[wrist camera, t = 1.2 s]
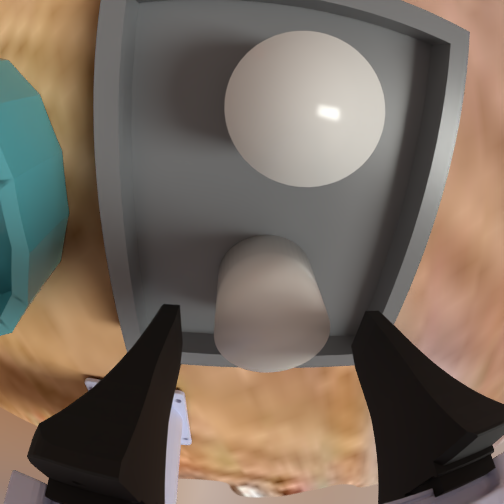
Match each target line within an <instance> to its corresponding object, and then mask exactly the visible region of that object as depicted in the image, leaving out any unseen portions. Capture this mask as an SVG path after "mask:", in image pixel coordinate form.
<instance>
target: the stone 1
mask: <svg viewBox="0 0 504 504" xmlns="http://www.w3.org/2000/svg"><path fill="white" fill-rule="evenodd" d="M224 112H225V120H226V125H227V128H228V132H229V135H230V137H231V139H232V142H233V144H234V145H235V147H236V149H237V150H238V152H239V153H240V154H241V156H242V157H243V158H244V159H245V161H247V162H248V163H249V164H250V165H251V166H252V167H253V168H254V169H255V170H257V171H258V172H259V173H261V174H262V175H264V176H266V177H268V178H269V179H272V180H274V181H276V182H279V183H282V184H286V185H290V186H296V187H317V186H323V185H328V184H331V183H334V182H337V181H339V180H341V179H343V178H345V177H347V176H349V175H350V174H352V173H353V172H355V171H356V170H357V169H358V168H359V167H361V166H362V165H363V164H364V163H365V161H366V160H367V159H368V158H369V157H370V155H371V154H372V153H373V151H374V150H375V148H376V146H377V144H378V142H379V140H380V137H381V134H382V131H383V127H384V121H385V100H384V94H383V91H382V87H381V84H380V82H379V79H378V77H377V75H376V73H375V72H374V70H373V68H372V67H371V65H370V64H369V63H368V61H367V60H366V59H365V58H364V57H363V56H362V55H361V54H360V53H359V52H358V51H357V50H356V49H354V48H353V47H352V46H350V45H349V44H347V43H346V42H344V41H342V40H340V39H338V38H336V37H333V36H331V35H328V34H324V33H320V32H314V31H292V32H286V33H282V34H279V35H275V36H273V37H271V38H268V39H266V40H264V41H263V42H261V43H259V44H258V45H256V46H255V47H254V48H252V49H251V50H250V51H249V52H248V53H247V54H246V55H245V56H244V57H243V58H242V59H241V60H240V62H239V63H238V65H237V66H236V68H235V69H234V71H233V73H232V75H231V77H230V80H229V83H228V86H227V89H226V95H225V105H224Z"/></svg>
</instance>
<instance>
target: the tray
mask: <svg viewBox="0 0 504 504" xmlns="http://www.w3.org/2000/svg"><path fill="white" fill-rule="evenodd" d="M292 31H314V32H320V33H324V34H328V35H331V36H333V37H336V38H338V39H340V40H342V41H344V42H346V43H347V44H349V45H350V46H352V47H353V48H354V49H356V50H357V51H358V52H359V53H360V54H361V55H362V56H363V57H364V58H365V59H366V60H367V61H368V63H369V64H370V65H371V67H372V68H373V70H374V72H375V73H376V75H377V77H378V79H379V82H380V84H381V87H382V91H383V94H384V100H385V121H384V127H383V131H382V134H381V137H380V140H379V142H378V144H377V146H376V148H375V150H374V151H373V153H372V154H371V155H370V157H369V158H368V159H367V160H366V161H365V163H364V164H363V165H362V166H361V167H359V168H358V169H357V170H356V171H355V172H353V173H352V174H350V175H349V176H347V177H345V178H343V179H341V180H339V181H337V182H334V183H331V184H328V185H323V186H317V187H296V186H290V185H286V184H282V183H279V182H276V181H274V180H272V179H269V178H268V177H266V176H264V175H262V174H261V173H259V172H258V171H257V170H255V169H254V168H253V167H252V166H251V165H250V164H249V163H248V162H247V161H245V159H244V158H243V157H242V156H241V154H240V153H239V152H238V150H237V149H236V147H235V145H234V144H233V142H232V139H231V137H230V135H229V132H228V128H227V125H226V120H225V112H224V105H225V95H226V89H227V86H228V83H229V80H230V77H231V75H232V73H233V71H234V69H235V68H236V66H237V65H238V63H239V62H240V60H241V59H242V58H243V57H244V56H245V55H246V54H247V53H248V52H249V51H250V50H251V49H252V48H254V47H255V46H256V45H258V44H259V43H261V42H263V41H264V40H266V39H268V38H271V37H273V36H275V35H279V34H282V33H286V32H292ZM469 35H470V32H469V31H467V30H465V29H463V28H461V27H459V26H457V25H455V24H453V23H451V22H449V21H447V20H445V19H443V18H441V17H439V16H437V15H435V14H433V13H430V12H428V11H426V10H424V9H421V8H419V7H416V6H414V5H412V4H409V3H406V2H404V1H401V0H101V3H100V10H99V18H98V27H97V38H96V50H95V66H94V104H93V109H94V148H95V165H96V179H97V190H98V200H99V209H100V217H101V225H102V232H103V239H104V246H105V252H106V258H107V264H108V270H109V275H110V280H111V285H112V290H113V295H114V300H115V305H116V309H117V314H118V318H119V322H120V326H121V330H122V334H123V338H124V342H125V346H126V349H127V352H128V351H129V350H130V349H131V348H132V346H133V345H134V344H135V343H136V342H137V340H138V339H139V338H140V336H141V335H142V334H143V332H144V331H145V330H146V328H147V327H148V325H149V324H150V323H151V321H152V320H153V318H154V317H155V315H156V314H157V312H158V310H159V309H160V307H161V306H162V305H163V304H173V305H180V313H181V326H182V338H183V346H182V356H181V364H188V365H202V366H220V367H238V366H236V365H234V364H232V363H230V362H229V361H228V360H226V359H225V358H224V357H223V356H222V355H221V354H220V352H219V351H218V349H217V347H216V344H215V341H214V326H215V311H216V298H217V284H218V272H219V267H220V264H221V261H222V259H223V258H224V256H225V254H226V253H227V252H228V251H229V250H230V249H231V248H232V247H233V246H235V245H236V244H238V243H239V242H241V241H243V240H245V239H248V238H250V237H254V236H260V235H274V236H280V237H283V238H286V239H289V240H290V241H292V242H294V243H295V244H297V245H298V246H299V247H300V248H301V249H302V250H303V251H304V252H305V254H306V256H307V257H308V260H309V262H310V265H311V268H312V271H313V274H314V276H315V279H316V282H317V285H318V288H319V291H320V293H321V296H322V299H323V302H324V305H325V308H326V311H327V314H328V317H329V320H330V334H329V337H328V340H327V342H326V344H325V345H324V347H323V348H322V349H321V350H320V352H319V353H318V354H316V355H315V356H314V357H313V358H312V359H310V360H309V361H307V362H305V363H303V364H301V365H299V366H297V367H294V368H304V367H332V366H350V365H355V364H354V359H353V354H352V348H351V345H352V343H353V340H354V338H355V335H356V333H357V331H358V328H359V326H360V323H361V321H362V318H363V316H364V313H365V311H379V312H381V313H382V314H383V315H384V316H385V317H386V318H387V319H388V320H389V321H390V322H391V323H392V324H393V325H394V323H395V321H396V318H397V316H398V314H399V312H400V310H401V307H402V305H403V303H404V300H405V298H406V296H407V293H408V291H409V289H410V286H411V284H412V281H413V279H414V276H415V274H416V271H417V269H418V266H419V264H420V261H421V258H422V256H423V253H424V250H425V247H426V245H427V242H428V239H429V236H430V233H431V230H432V227H433V224H434V221H435V218H436V214H437V211H438V208H439V205H440V201H441V198H442V194H443V191H444V187H445V183H446V180H447V176H448V172H449V168H450V164H451V160H452V155H453V151H454V146H455V142H456V137H457V132H458V127H459V121H460V116H461V110H462V103H463V97H464V90H465V82H466V73H467V63H468V51H469Z"/></svg>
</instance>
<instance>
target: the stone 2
mask: <svg viewBox="0 0 504 504" xmlns="http://www.w3.org/2000/svg"><path fill="white" fill-rule="evenodd" d="M329 334H330V320H329V317H328V314H327V311H326V308H325V305H324V302H323V299H322V296H321V293H320V291H319V288H318V285H317V282H316V279H315V276H314V274H313V271H312V268H311V265H310V262H309V260H308V257H307V256H306V254H305V252H304V251H303V250H302V249H301V248H300V247H299V246H298V245H297V244H295V243H294V242H292V241H290V240H289V239H286V238H283V237H280V236H274V235H260V236H254V237H250V238H248V239H245V240H243V241H241V242H239V243H238V244H236V245H235V246H233V247H232V248H231V249H230V250H229V251H228V252H227V253H226V254H225V256H224V258H223V259H222V261H221V264H220V267H219V272H218V284H217V298H216V311H215V326H214V341H215V344H216V347H217V349H218V351H219V352H220V354H221V355H222V356H223V357H224V358H225V359H226V360H228V361H229V362H230V363H232V364H234V365H236V366H238V367H240V368H243V369H246V370H250V371H255V372H278V371H284V370H288V369H291V368H294V367H297V366H299V365H301V364H303V363H305V362H307V361H309V360H310V359H312V358H313V357H314V356H315V355H316V354H318V353H319V352H320V350H321V349H322V348H323V347H324V345H325V344H326V342H327V340H328V337H329Z"/></svg>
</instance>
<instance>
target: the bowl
mask: <svg viewBox="0 0 504 504" xmlns="http://www.w3.org/2000/svg"><path fill="white" fill-rule="evenodd" d="M68 217H69V207H68V200H67V193H66V185H65V176H64V166H63V155H62V150H61V147H60V145H59V143H58V140H57V138H56V135H55V133H54V130H53V128H52V125H51V123H50V120H49V118H48V115H47V112H46V110H45V107H44V104H43V102H42V99H41V96H40V94H39V93H38V92H37V91H36V90H35V89H34V88H33V87H32V86H31V84H30V83H29V82H28V81H27V80H26V79H25V78H24V77H23V76H22V75H21V74H20V72H19V71H18V70H17V69H16V68H15V67H14V66H13V65H12V64H11V62H10V61H9V60H5V59H1V58H0V336H1V335H5V334H9V333H12V332H13V330H14V328H15V327H16V325H17V324H18V322H19V321H20V319H21V318H22V316H23V315H24V313H25V311H26V310H27V308H28V307H29V306H30V304H31V303H32V301H33V300H34V298H35V297H36V295H37V294H38V293H39V291H40V290H41V288H42V287H43V285H44V284H45V282H46V281H47V279H48V278H49V277H50V275H51V274H52V272H53V271H54V270H55V268H56V267H57V265H58V264H59V263H60V261H61V257H62V250H63V244H64V238H65V232H66V227H67V222H68Z"/></svg>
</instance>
